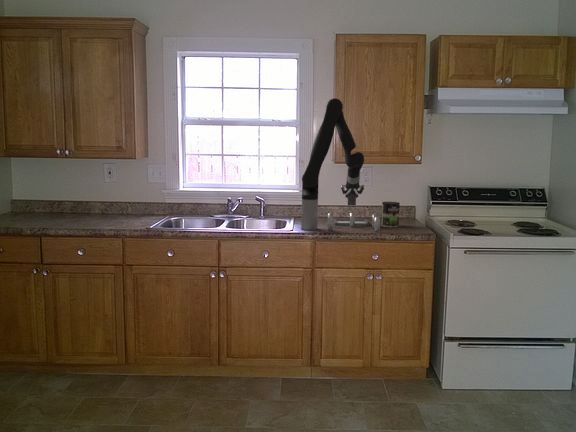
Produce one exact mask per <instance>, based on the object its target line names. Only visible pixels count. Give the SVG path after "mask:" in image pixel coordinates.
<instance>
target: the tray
mask: <svg viewBox="0 0 576 432" xmlns="http://www.w3.org/2000/svg"><path fill="white" fill-rule="evenodd" d="M333 223H334V226H335V227H336V226H341V227H350V218H334V219H333ZM355 227H370V223H369V221H368V220H367V218H355Z"/></svg>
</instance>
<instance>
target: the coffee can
mask: <svg viewBox="0 0 576 432" xmlns="http://www.w3.org/2000/svg"><path fill="white" fill-rule="evenodd" d="M381 207H382V209H381V227H385V228H398V227H399V225H400V224H399V223H400V202H397V201H383V202H382V205H381Z"/></svg>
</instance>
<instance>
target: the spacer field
mask: <svg viewBox="0 0 576 432" xmlns="http://www.w3.org/2000/svg"><path fill="white" fill-rule="evenodd" d="M378 215H379V214H378V213H372V215H371V216H372V217H371V219H372V222H371V228H372V229H374V231H377V232H376V233H379V232H378V231H381V230H380V229H381V217H379V216H378ZM349 219H350V226H349V228H355V227H356V226H355V219H356V213H354V212H349ZM374 231H373V232H374ZM327 232H334V212H333V213H332V212H329V213H328V212H327Z"/></svg>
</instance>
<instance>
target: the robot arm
mask: <svg viewBox="0 0 576 432" xmlns="http://www.w3.org/2000/svg"><path fill="white" fill-rule="evenodd" d="M343 105H344V104H343V102H342V101H341V100H340V99H339V98H336V97H335V98H331V99H329V100H328V101H327V103H326V105H325V112H324V115H323V120H322V122H321V125H320V126H319V128H318V131H317V133H316V136H315V139H314V140H313V144H312V147H311V150H310V151H311V152H310V156H309V161H308V164H307V166H306V169H305V171H304V173H303V174H302V176H301V182H302V185H301V187H302V189H301V215H300V216H301V222H300V225H301V226H300V227H301V230H304V231H305V230H306V231H314V230H317V229H318V228H319V227H318V226H319V224H318V223H319V222H318V220H319V219H318V217H319V214H318V213H319V176H320V172H321V168H322V165H323V163H324V161H325V159H326V158H327V155H328V153H329V150H330V147H331V145H332V141H333V137H334V132H335V129H336V132H337V134H338V138H339V140H340V143H341V146H342V148H343V152H344V160H345V164H346V166H347V175H346V181H345V182H346V183H345V185H344V184H341V185H340V189H341V192H342V193H341V194H343V195H345V198H346V199H348V193H349V192H350V191H355V193H356V199H358V198H359V195H361V194H362V193H363V192H364V189H365V186H364V184H362V185H360V180H361V169H362V167H363V166H364V162H365V156H364V154H363V153H362V152H360V151H355V152H354V153H352V151H354V150H355V148H356V147H357V146H356V143H355V140H354V137H353V134H352V132H351V130H350V129H349V126H348V124H347V122H346V119H345V116H344V111H343V110H344V106H343ZM345 189H346V190H345Z"/></svg>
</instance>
